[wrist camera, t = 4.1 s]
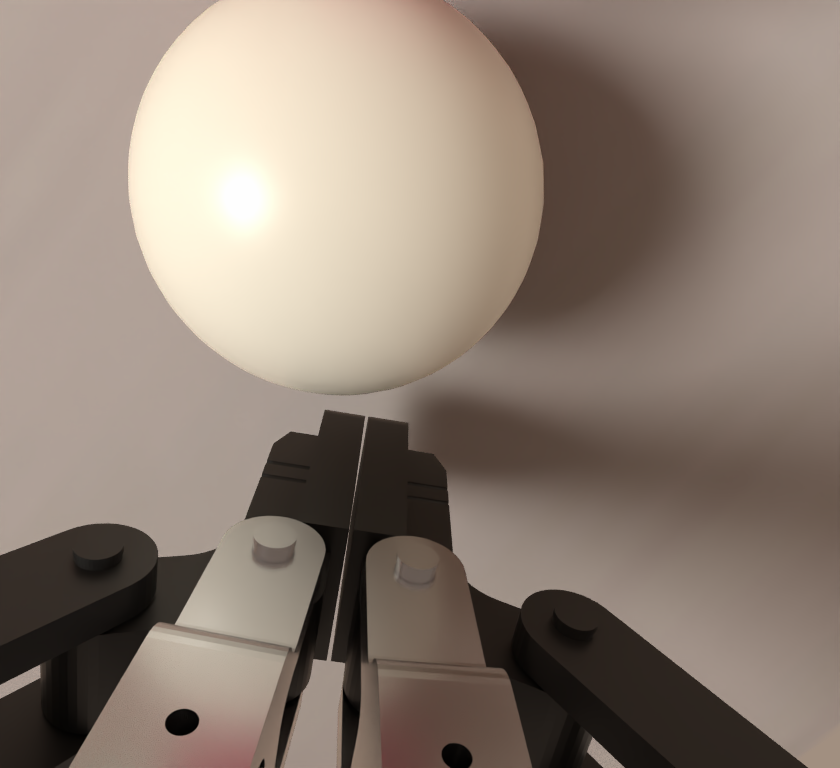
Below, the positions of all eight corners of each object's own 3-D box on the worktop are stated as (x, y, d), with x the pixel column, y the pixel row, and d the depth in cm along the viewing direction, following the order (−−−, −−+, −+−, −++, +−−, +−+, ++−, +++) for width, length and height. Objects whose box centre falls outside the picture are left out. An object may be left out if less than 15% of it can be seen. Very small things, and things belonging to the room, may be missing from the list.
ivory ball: (17, 124, 6) (204, -206, 8) (84, 402, 11) (191, 135, 13) (629, 311, 7) (625, -32, 10) (443, 487, 12) (475, 225, 14)
